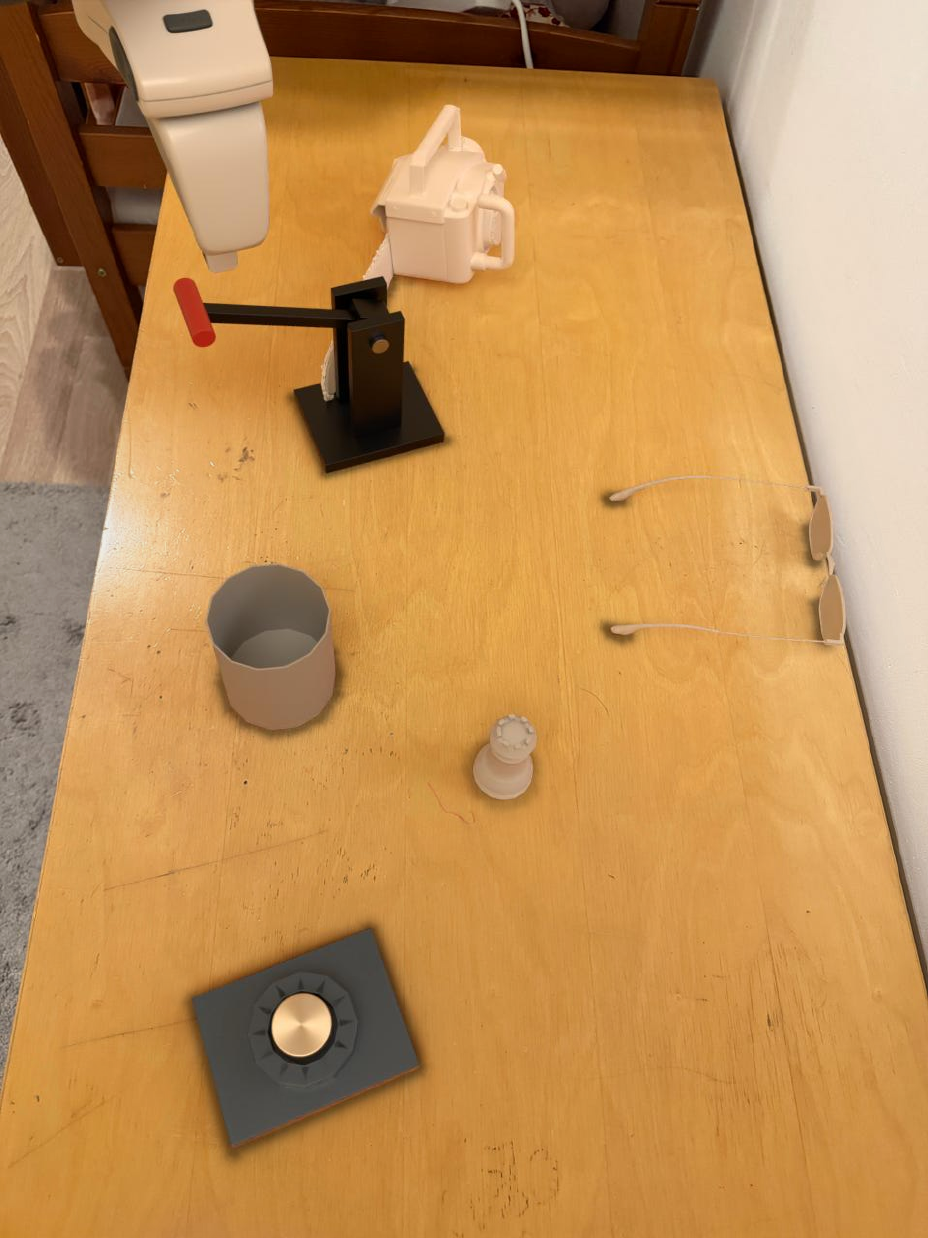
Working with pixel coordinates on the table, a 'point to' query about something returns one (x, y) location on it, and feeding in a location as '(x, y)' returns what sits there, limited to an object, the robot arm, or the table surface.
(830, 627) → the eyeglasses
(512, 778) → the rook chess piece
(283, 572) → the cup
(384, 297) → the press bracket
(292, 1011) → the gold dial knob
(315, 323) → the press lever
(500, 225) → the chainsaw
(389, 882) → the table surface
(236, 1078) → the button block
